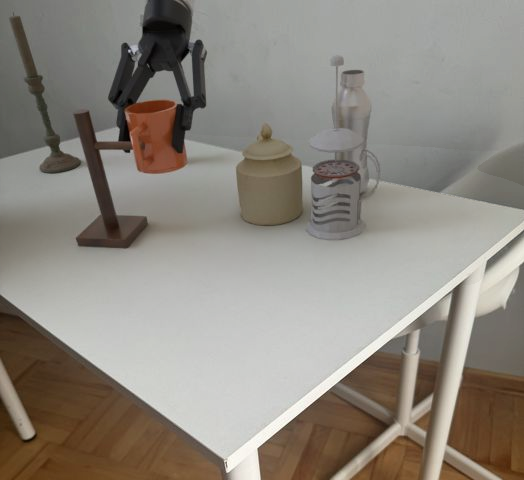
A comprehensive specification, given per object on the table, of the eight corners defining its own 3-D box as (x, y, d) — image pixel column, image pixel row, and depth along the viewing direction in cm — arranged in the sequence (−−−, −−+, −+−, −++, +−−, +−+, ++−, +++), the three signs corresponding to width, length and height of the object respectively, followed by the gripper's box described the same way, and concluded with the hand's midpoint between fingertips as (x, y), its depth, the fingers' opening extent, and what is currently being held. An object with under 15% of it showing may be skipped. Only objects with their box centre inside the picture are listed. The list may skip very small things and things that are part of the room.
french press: (313, 211, 93) (310, 48, 77) (380, 215, 90) (392, 46, 74) (298, 237, 86) (292, 63, 70) (371, 243, 82) (382, 62, 67)
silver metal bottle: (362, 201, 95) (367, 77, 82) (326, 197, 97) (326, 76, 85) (372, 187, 99) (379, 67, 87) (337, 184, 102) (339, 67, 89)
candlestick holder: (84, 157, 126) (42, 7, 107) (76, 171, 119) (29, 12, 100) (45, 161, 126) (-4, 11, 107) (35, 175, 119) (-19, 17, 100)
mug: (149, 155, 92) (138, 99, 86) (194, 156, 90) (185, 98, 84) (118, 183, 82) (102, 122, 77) (167, 184, 81) (155, 122, 75)
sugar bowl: (218, 204, 98) (207, 119, 89) (269, 188, 103) (263, 105, 93) (262, 232, 88) (254, 138, 79) (316, 213, 92) (314, 122, 83)
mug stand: (77, 245, 89) (37, 120, 77) (102, 222, 96) (69, 103, 84) (152, 249, 86) (123, 119, 74) (172, 224, 93) (148, 102, 81)
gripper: (238, 26, 86) (221, 160, 84) (120, 31, 91) (101, 159, 89) (225, -10, 79) (206, 136, 77) (97, -2, 84) (76, 136, 82)
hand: (150, 148), depth 83 cm, fingers closed on mug, 8 cm apart
